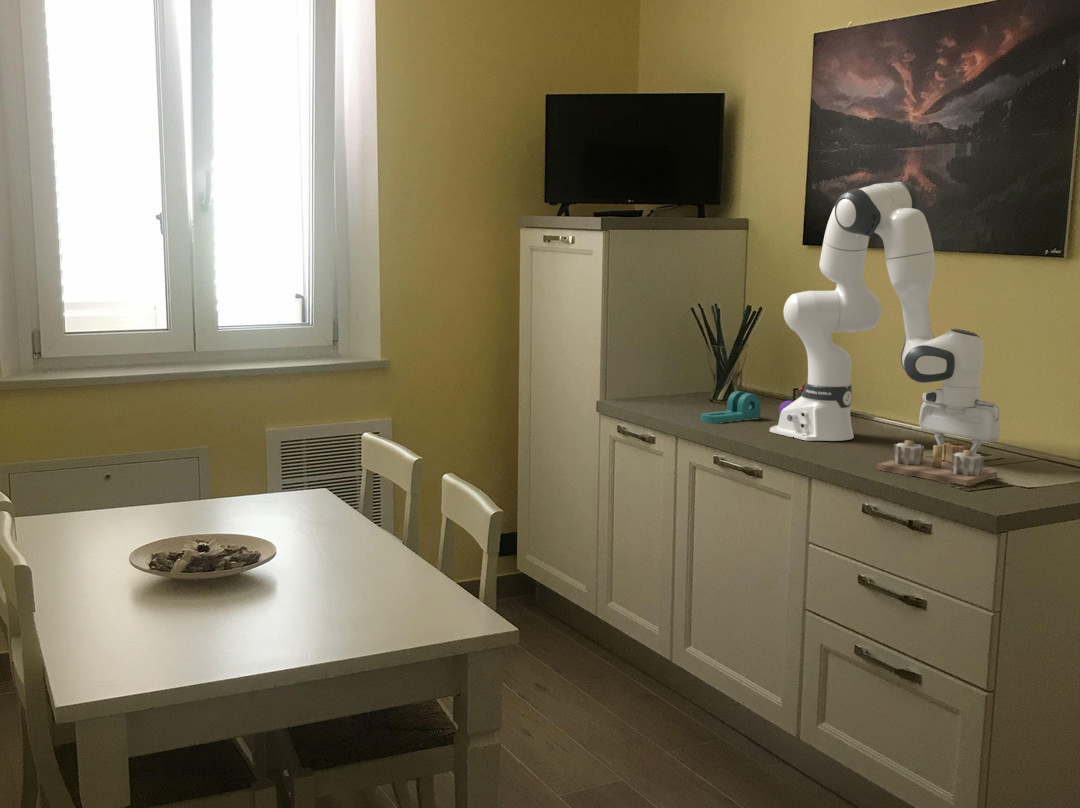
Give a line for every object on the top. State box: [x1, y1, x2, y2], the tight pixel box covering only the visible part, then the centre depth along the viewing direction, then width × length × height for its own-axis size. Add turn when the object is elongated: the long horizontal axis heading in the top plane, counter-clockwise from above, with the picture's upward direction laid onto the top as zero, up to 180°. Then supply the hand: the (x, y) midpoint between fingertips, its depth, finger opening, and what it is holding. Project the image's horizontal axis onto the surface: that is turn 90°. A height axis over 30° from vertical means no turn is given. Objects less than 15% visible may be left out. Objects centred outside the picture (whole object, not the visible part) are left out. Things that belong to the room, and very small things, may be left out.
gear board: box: [876, 439, 999, 485], centre depth 255 cm, size 22×14×6 cm, turn 42°
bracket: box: [700, 390, 761, 424], centre depth 322 cm, size 18×7×8 cm, turn 120°
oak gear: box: [942, 441, 973, 463], centre depth 269 cm, size 7×7×4 cm
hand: (956, 453), depth 269 cm, fingers closed on oak gear, 7 cm apart
